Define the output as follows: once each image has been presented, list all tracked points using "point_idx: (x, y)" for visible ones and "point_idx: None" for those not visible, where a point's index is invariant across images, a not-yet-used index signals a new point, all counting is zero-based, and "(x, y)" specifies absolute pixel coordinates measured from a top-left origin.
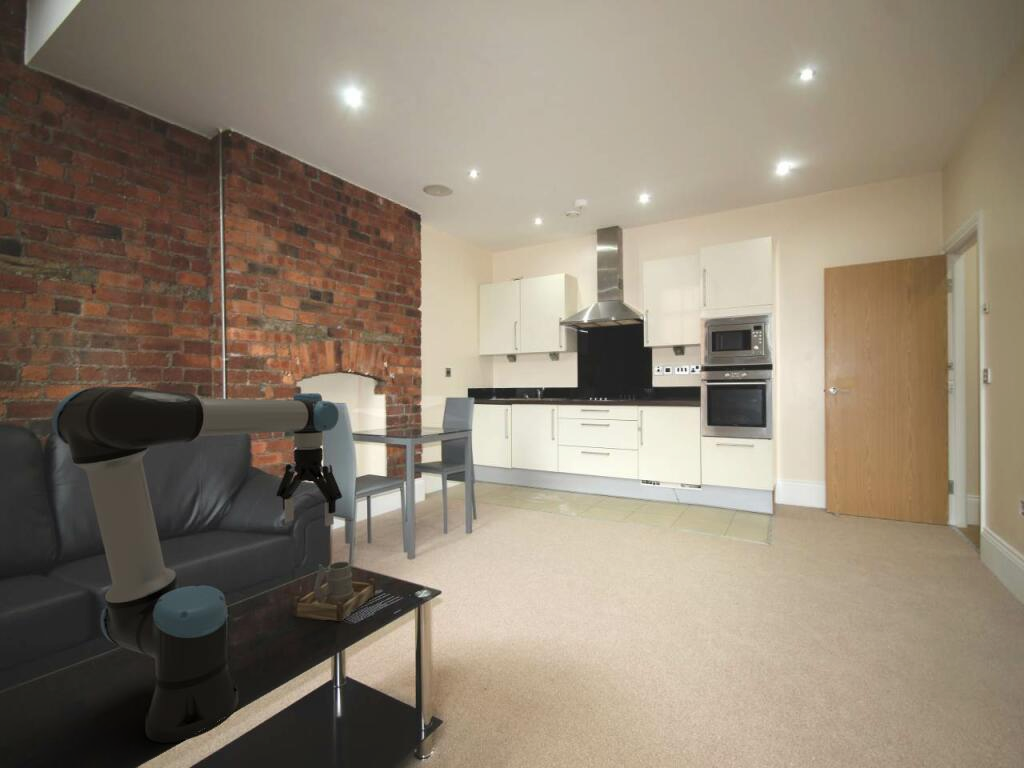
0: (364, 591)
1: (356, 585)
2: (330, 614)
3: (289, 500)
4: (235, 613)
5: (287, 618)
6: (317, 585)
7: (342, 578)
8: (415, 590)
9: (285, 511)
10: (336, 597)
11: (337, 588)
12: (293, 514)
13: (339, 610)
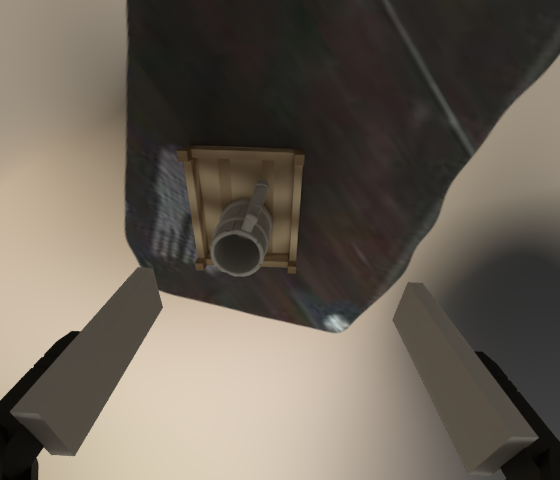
0: (194, 232)
1: None
2: (210, 147)
3: (481, 435)
4: (437, 133)
5: (309, 137)
6: (256, 187)
7: (218, 226)
8: None
9: (454, 334)
10: (234, 202)
11: (231, 212)
12: (406, 345)
13: (184, 148)
